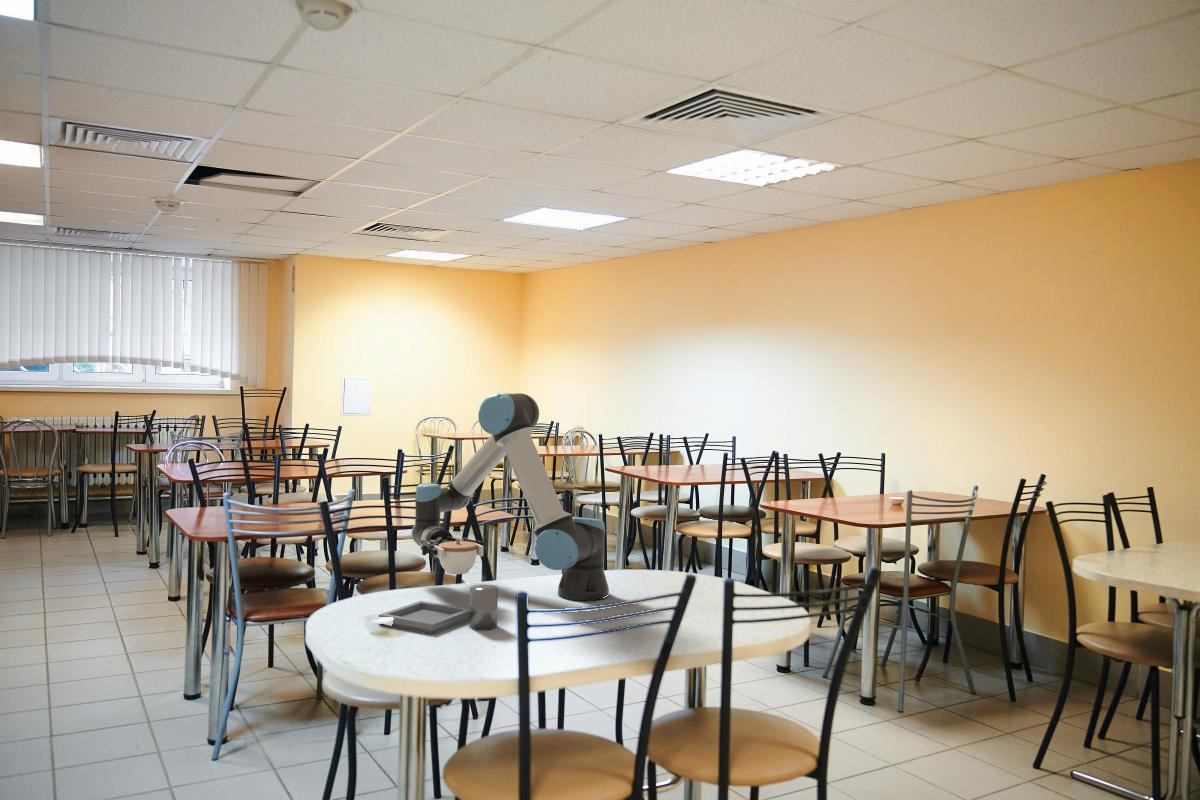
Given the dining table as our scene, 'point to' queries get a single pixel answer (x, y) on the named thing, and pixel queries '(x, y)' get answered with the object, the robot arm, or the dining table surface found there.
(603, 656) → the dining table surface
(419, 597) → the dining table surface
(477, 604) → the metal tin
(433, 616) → the tray
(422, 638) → the dining table surface
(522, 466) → the robot arm
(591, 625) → the dining table surface
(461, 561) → the lidded jar
